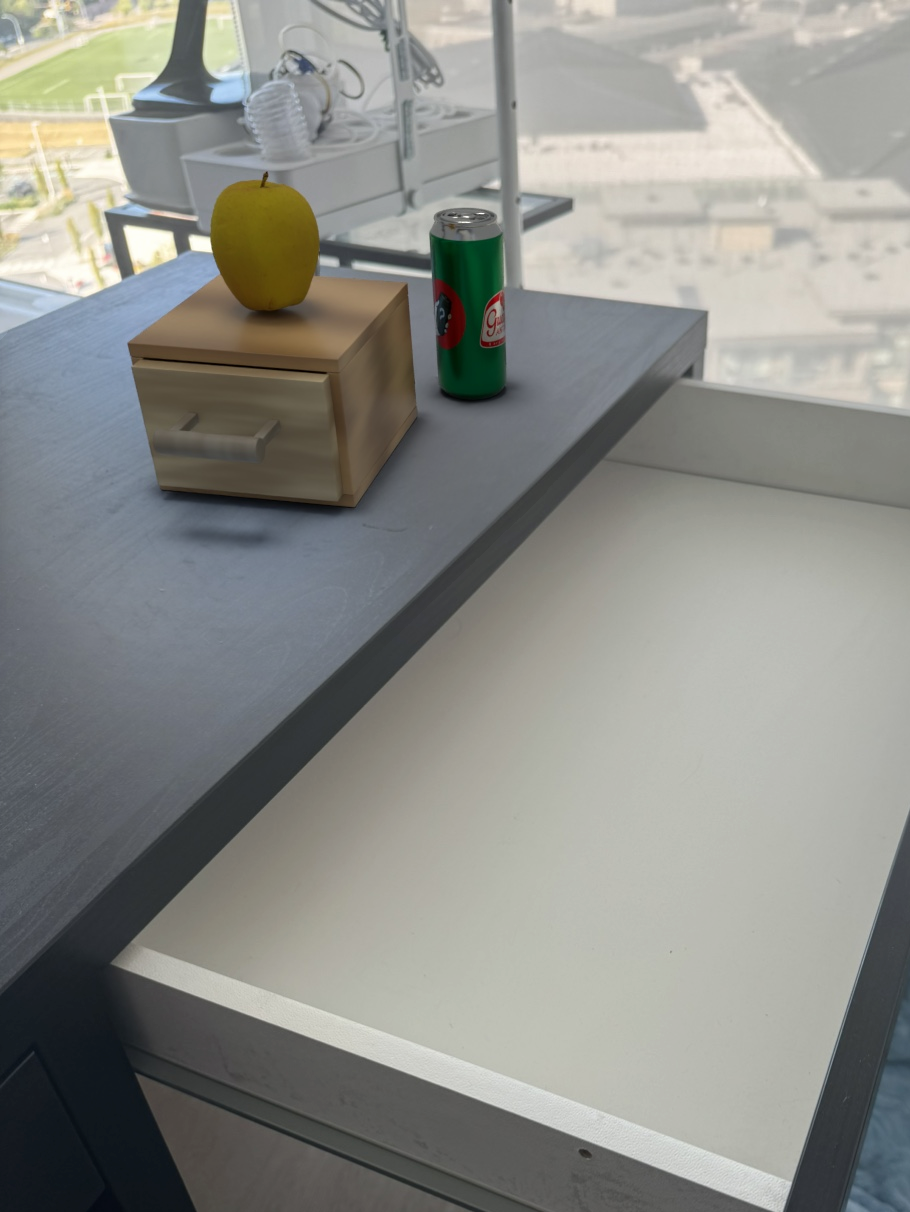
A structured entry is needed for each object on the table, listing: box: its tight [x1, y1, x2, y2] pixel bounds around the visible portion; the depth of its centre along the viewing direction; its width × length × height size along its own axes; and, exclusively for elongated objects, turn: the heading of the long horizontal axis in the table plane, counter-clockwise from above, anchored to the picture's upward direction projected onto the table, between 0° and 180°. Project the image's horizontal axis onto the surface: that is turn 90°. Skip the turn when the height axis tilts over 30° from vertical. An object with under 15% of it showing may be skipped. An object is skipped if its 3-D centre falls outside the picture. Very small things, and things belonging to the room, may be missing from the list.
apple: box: [209, 170, 321, 311], centre depth 69 cm, size 6×6×8 cm
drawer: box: [130, 359, 343, 501], centre depth 72 cm, size 18×11×7 cm, turn 171°
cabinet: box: [126, 273, 418, 508], centre depth 75 cm, size 15×13×9 cm
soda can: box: [428, 207, 508, 401], centre depth 83 cm, size 5×5×12 cm
